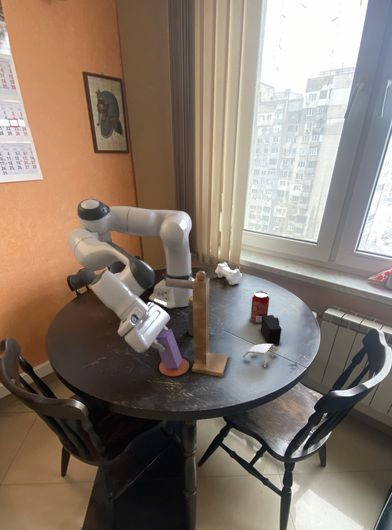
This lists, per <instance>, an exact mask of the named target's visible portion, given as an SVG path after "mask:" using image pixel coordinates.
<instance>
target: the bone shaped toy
mask: <svg viewBox="0 0 392 530" xmlns="http://www.w3.org/2000/svg"><path fill="white" fill-rule="evenodd" d="M214 272H215V274H217V277H218V278H219V279H222V278H223V277H224V278H226V281H228V283H229V285H230V286H234V285H236V284H240V281H241V279H242V277H243V274H242V273H241V272H240V269H238V268H235V269H231V268H230V267H229V266H228V263H227V262H224V261H223V263H217V267H216V269H214Z"/></svg>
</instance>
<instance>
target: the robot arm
mask: <svg viewBox="0 0 392 530" xmlns="http://www.w3.org/2000/svg"><path fill="white" fill-rule="evenodd" d="M77 216H78V221H79V226H80V227H78V228H75V229H73V230H72V231H70V233H69V234H68V237H67V243H68V247H69V249H70V251H71V253H72V254H73V255H72V256H74V258H75V260H76V261H77V262H78V263H79V264H80V266H81V267H83V268H84V269H86V270H87V271H94V272H95V271H96V272H97V271H101V272H100V273H99V274H98V275H97V276H96V277H95V278H94V280H92V282H91V283H90V286H89V287H90V289H91V291H92V292H93V293H94V294H95V296H96V297H97V298H98V299H99V300H100V301H101V303H102V304H104V306H106V307H107V308H108V309H109V310H110V311H112V312H114V314H116V316H117V317H118V319H119V320H120V323H119V327H118V330H117V334H118V335H119V337H124V340H125V342H126V343H127V344H128V345H129V346H130V347H131V348H132V349H133V350H134V351H135V352H136V353H138V354H144V353H145V352H147V351H148V349H150V347H151V348H153V349H157V350H158V349H159V350H160V351H161V352H163V351H165V349H166V346H165V345H164V344H159V343H157V342H158V341H157V340H156V337H157V336H158V335H159V333H160V332H161V331H162V330H169V328H168V327H167V326H166V325H167V324H168V322H169V321H170V320H171V316H170V314H169V313H168V312H166V310H164V308H162V307H165V308H166V309H176V308H185V307H189V305H188V302H189V299H188V298H189V297H190V296H192V295H193V289H185V288H175V287H166V284H165V283H166V279H167V278H168V279H178V280H189V281H194V279H195V278H193V271H192V255H191V254H192V253H191V250H190V242H189V240H190V239H189V235H190V232H191V230H192V227H193V226H192V225H193V223H192V219H191V216H190V215H189V214H188V213H187V212H185V211H183V210H173V209H148V208H142V207H135V206H128V205H112V206H109V205H107V204H106V203H104V202H102V201H100V200H98V199H95V198H87V199H84V200H82V201H80V202H79V203H78V205H77ZM111 232H117V233H120V234H124V235H129V236H137V237H143V238H154V237H156V238H157V237H158V238H159V237H160V239H161V242H162V247H163V250H164V257H165V266H166V267H165V269H166V270H165V271H164V272H163V273H162V274H161V275H162V276H161V277H164V278H163V279H162V280H160V281H159V282H158V283H156V285H154V284H155V278H156V277H155V275H156V273H155V271H154V270H153V268H152V267H151V266H150V265H149V264H148V263H147V262H145V261H143V260H141V259H138V258H137V257H135V256H134V255H133V254H131V253H130V252H128V251H127V250H126V249H124V248H123V247H121V246H120V245H118V244H117V243H115V242H113V240H112V233H111ZM117 262H121V263H122V264H124V265H125V267H124V268H123V270H122V271H121V272H119V273H120V274H119V275H118V276H115V275H114V274H115V273H112V272H111V271H110V270H109V269H106V268H108V267H109V266H110V265H113V264H114V263H117ZM147 290H150V291H153V293H152V294H150V295H149V297H148V300H149V301H147V302H144V300H142V299H141V298H140V296H141V295H142V294H143V293H145V291H147ZM161 306H162V307H161Z"/></svg>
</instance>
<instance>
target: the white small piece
mask: <svg viewBox="0 0 392 530" xmlns="http://www.w3.org/2000/svg"><path fill="white" fill-rule="evenodd" d="M271 348H273V349H275V350H273V351H272V352H271V353H270V356H271V358H274V357H275V356H274V355H273V354H274V353H275V352H277V351H278V350H279V349H278V348H277V346H276V345H274V344H267V343H260V344H254V345H253V346H252V347H251V348H250V349H248V350H247V351H246V353H245V354H244V355H243V356H242V358H243V359H245V363H248V362H249V361H250V359H248V358H246V357H247V356H248V355H249V354H253V355H252V357H253V358H255V356H256V354H259V355H260V354H261V355H264V360H265V361H263V367H264V368H267V364H268V363H269V360H268V356H267V353H268V351H269V350H270V349H271Z"/></svg>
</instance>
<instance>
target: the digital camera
mask: <svg viewBox="0 0 392 530" xmlns="http://www.w3.org/2000/svg"><path fill="white" fill-rule="evenodd" d="M260 333H261V334H262V337H263V339H264V341H265V342H266V344H274V346H277V345H278V346H279V345H280V342H281V336H282V327H281V325H280V319H279V317H275V316H274V314H267V315H264V316H262V321H261V323H260Z"/></svg>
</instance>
